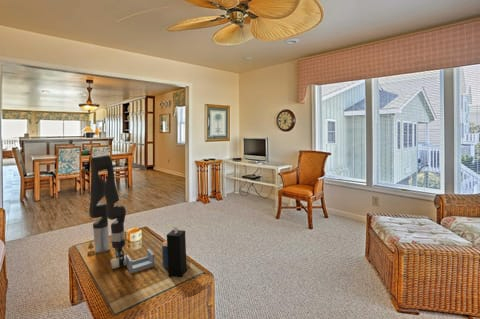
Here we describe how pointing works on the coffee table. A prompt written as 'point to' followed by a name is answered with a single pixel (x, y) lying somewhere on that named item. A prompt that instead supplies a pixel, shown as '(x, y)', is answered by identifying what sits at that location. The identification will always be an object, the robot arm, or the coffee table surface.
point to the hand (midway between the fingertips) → (120, 263)
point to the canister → (165, 255)
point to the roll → (117, 262)
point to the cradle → (140, 262)
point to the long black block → (176, 253)
